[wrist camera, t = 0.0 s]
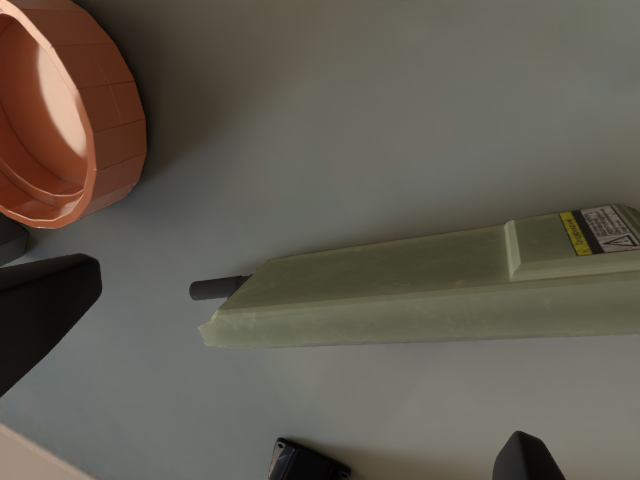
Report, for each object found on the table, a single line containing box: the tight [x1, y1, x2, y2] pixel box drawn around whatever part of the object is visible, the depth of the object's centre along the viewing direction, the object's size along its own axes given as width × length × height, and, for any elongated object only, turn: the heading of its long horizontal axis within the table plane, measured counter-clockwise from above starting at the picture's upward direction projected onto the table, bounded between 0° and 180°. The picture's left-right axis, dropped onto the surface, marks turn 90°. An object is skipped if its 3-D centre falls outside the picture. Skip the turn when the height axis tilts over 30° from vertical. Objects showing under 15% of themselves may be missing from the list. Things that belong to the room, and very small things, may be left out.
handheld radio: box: [189, 204, 640, 349], centre depth 21 cm, size 7×3×25 cm
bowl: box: [0, 0, 147, 229], centre depth 24 cm, size 13×13×4 cm
